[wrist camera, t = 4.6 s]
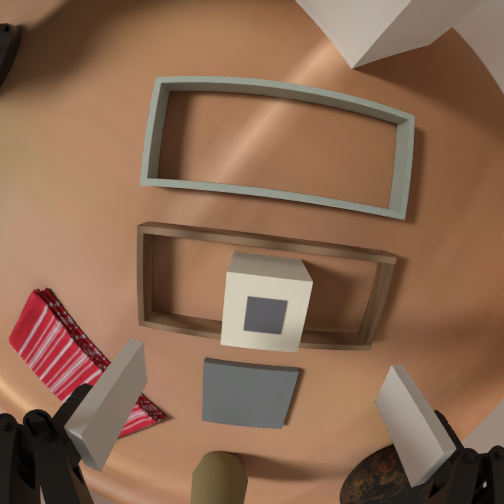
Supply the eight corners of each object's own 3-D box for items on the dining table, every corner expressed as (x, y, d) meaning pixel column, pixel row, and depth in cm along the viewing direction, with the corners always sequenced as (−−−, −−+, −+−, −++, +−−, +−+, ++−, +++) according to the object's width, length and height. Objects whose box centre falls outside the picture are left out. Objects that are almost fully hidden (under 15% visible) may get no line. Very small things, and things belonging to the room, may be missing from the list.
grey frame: (150, 184, 23) (139, 185, 21) (164, 85, 21) (156, 77, 19) (392, 216, 23) (404, 219, 21) (402, 120, 21) (414, 115, 19)
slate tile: (203, 416, 30) (202, 420, 29) (205, 357, 27) (203, 362, 27) (281, 424, 30) (281, 428, 29) (298, 367, 27) (298, 372, 27)
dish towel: (46, 278, 27) (33, 285, 24) (170, 412, 31) (165, 426, 28) (12, 334, 29) (3, 341, 27) (109, 436, 34) (104, 446, 31)
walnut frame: (147, 314, 26) (139, 325, 24) (148, 221, 24) (137, 225, 22) (362, 338, 26) (369, 350, 24) (386, 251, 24) (397, 257, 22)
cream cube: (228, 311, 26) (220, 345, 20) (234, 250, 25) (226, 272, 19) (289, 318, 26) (297, 353, 20) (300, 258, 25) (313, 282, 19)
